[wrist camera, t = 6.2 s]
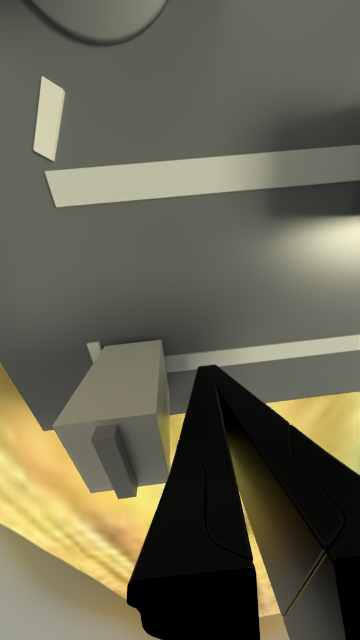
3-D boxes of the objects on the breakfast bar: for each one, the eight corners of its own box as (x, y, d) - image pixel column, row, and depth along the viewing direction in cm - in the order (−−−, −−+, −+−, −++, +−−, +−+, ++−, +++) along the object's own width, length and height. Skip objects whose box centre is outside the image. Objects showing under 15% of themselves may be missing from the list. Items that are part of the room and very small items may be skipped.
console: (637, -174, 5) (1006, -507, 3) (384, 361, 12) (430, 385, 10) (-206, -146, 4) (-591, -555, 2) (64, 400, 11) (41, 434, 9)
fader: (161, 339, 7) (155, 425, 4) (169, 392, 8) (170, 495, 5) (105, 346, 7) (42, 440, 4) (121, 398, 8) (86, 507, 5)
